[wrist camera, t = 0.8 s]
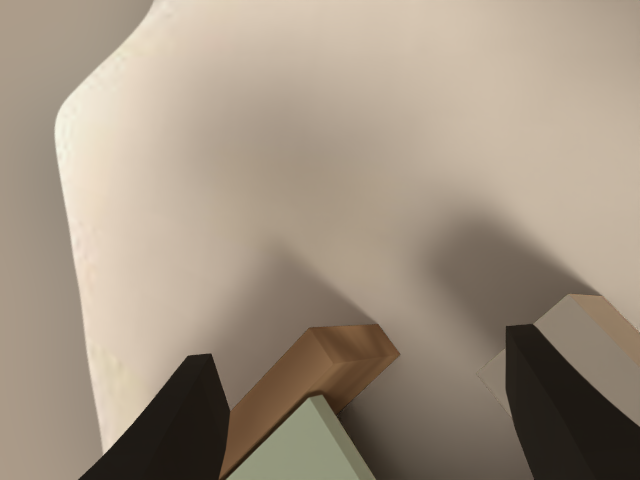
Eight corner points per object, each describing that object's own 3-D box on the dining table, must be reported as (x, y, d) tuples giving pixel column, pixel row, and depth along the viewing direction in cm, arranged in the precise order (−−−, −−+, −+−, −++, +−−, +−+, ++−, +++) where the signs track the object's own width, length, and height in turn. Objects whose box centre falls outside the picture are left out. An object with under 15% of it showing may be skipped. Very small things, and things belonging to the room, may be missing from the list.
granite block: (689, 382, 22) (674, 403, 17) (599, 446, 24) (562, 482, 19) (603, 296, 24) (568, 293, 19) (525, 360, 26) (475, 373, 21)
